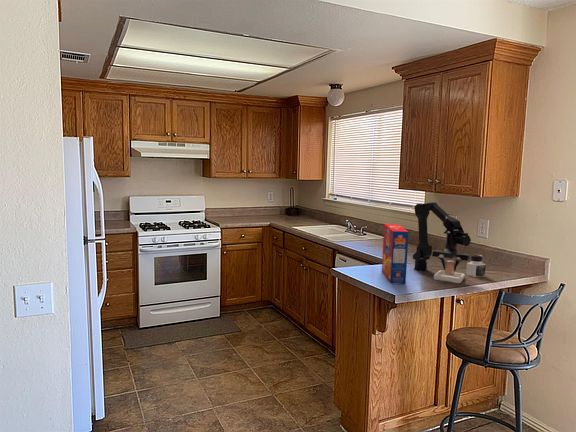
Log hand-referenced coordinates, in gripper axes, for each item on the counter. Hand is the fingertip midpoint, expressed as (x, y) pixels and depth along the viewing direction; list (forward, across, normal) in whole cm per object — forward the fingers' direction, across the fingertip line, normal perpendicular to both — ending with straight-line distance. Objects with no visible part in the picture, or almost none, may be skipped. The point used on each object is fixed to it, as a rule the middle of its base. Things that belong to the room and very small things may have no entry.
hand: (449, 270), depth 244 cm
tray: (+5, 0, 0) cm, 5 cm away
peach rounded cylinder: (+2, 0, 0) cm, 2 cm away
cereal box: (+5, -27, -15) cm, 31 cm away
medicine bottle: (+5, +11, +17) cm, 21 cm away
